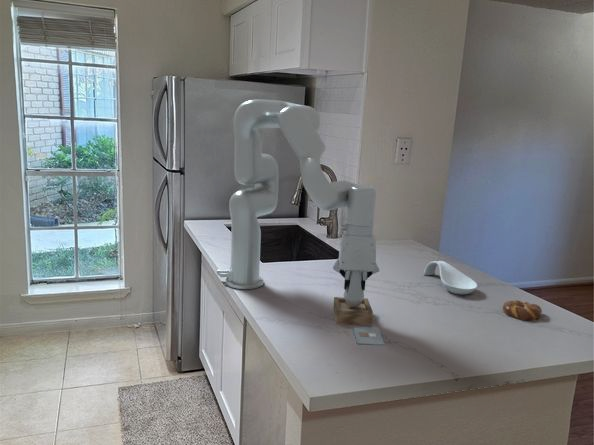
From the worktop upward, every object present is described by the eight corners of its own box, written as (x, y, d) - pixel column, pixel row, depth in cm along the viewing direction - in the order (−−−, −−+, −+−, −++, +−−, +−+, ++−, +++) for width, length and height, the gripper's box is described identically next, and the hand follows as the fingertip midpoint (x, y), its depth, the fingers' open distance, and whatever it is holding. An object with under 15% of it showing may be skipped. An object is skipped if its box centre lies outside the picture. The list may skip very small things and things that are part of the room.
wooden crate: (336, 323, 145) (337, 310, 144) (333, 309, 155) (334, 296, 154) (371, 325, 145) (372, 311, 144) (366, 311, 155) (367, 298, 154)
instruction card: (357, 344, 134) (357, 342, 133) (352, 327, 143) (353, 326, 143) (384, 345, 134) (384, 343, 134) (378, 328, 143) (378, 327, 143)
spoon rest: (483, 297, 173) (486, 276, 172) (454, 300, 169) (457, 279, 167) (440, 274, 195) (443, 255, 193) (414, 276, 191) (416, 257, 189)
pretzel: (529, 307, 166) (531, 297, 165) (550, 322, 156) (552, 310, 155) (494, 307, 164) (496, 296, 164) (513, 322, 154) (515, 310, 153)
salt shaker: (341, 300, 152) (344, 257, 149) (360, 300, 152) (364, 257, 149) (345, 307, 146) (348, 263, 143) (365, 308, 146) (369, 264, 144)
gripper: (330, 231, 140) (326, 295, 144) (391, 234, 141) (384, 298, 145) (328, 225, 148) (324, 286, 152) (386, 228, 148) (380, 288, 152)
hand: (354, 291), depth 148 cm, fingers closed on salt shaker, 3 cm apart
